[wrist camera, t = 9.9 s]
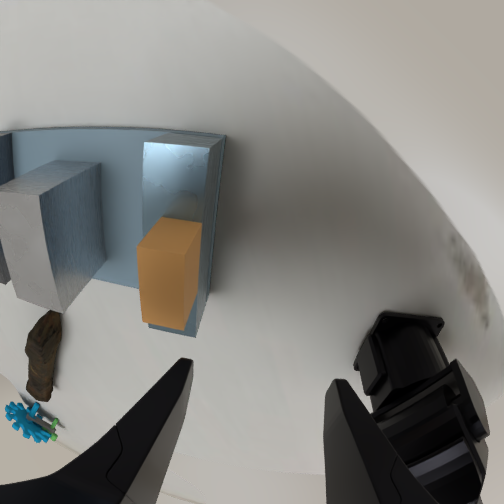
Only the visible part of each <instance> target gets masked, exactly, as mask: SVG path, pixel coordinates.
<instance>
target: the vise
mask: <svg viewBox="0 0 504 504" xmlns="http://www.w3.org/2000/svg"><path fill="white" fill-rule="evenodd" d="M166 133H176V134H187V135H197V136H207V137H215V138H222V142H221V150H220V159H219V167H218V176H217V185H216V194H215V204H214V213H213V223H212V234H211V245H210V256H209V268H208V281H207V294H206V302H207V299H208V296H209V291H210V279H211V267H212V256H213V245H214V235H215V225H216V215H217V206H218V197H219V188H220V179H221V171H222V162H223V154H224V146H225V138H226V135H219V134H211V133H202V132H191V131H180V130H167V129H152V128H131V127H58V128H39V129H25V130H13V131H3V132H0V186H1V185H3V184H5V183H7V182H9V181H11V180H13V179H15V178H17V177H19V176H21V175H23V174H25V173H27V172H29V171H31V170H33V169H35V168H38V167H40V166H42V165H44V164H46V163H49V162H51V161H53V160H61V161H84V162H101V194H102V212H103V226H104V238H105V248H106V257H107V261H106V262H105V263H104V264H103V266H102V267H101V268H100V269H99V270H98V271H97V273H96V274H95V275H94V276H93V277H92V278H93V279H97V280H102V281H106V282H110V283H115V284H119V285H124V286H128V287H133V288H137V289H139V279H138V264H137V245H138V244H139V243H140V242H141V240H142V239H143V226H142V184H143V153H144V142H146V141H148V140H151V139H153V138H156V137H158V136H161V135H163V134H166ZM10 280H11V277H10V273H9V270H8V266H7V263H6V259H5V256H4V252H3V248H2V244H1V239H0V283H3V284H5V285H6V284H7V283H8V282H9V281H10Z"/></svg>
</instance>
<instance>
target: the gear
mask: <svg viewBox="0 0 504 504" xmlns="http://www.w3.org/2000/svg"><path fill="white" fill-rule="evenodd" d="M39 406H40V405H39V404H38V403H37V402H35V404H34V405H33V407H32V409H31V408H30V407H27V409H26V410H25V408H24V406H23V404H22V403H17V405H15V404H14V402H10V405H9V406H8V405H6V407H5V411H6V412H7V414H6V418H7V419H8V420H9V421H11V420H12V419H15V420H16V422H14V423H13V425H12V427H13V428H14V429H15V430H17V431H18V430H19V428H20V427H21V428H22V429H23V436H24V437H25V438H28V439H29V438H30V436H31V435H32V437H33V438H34V441H36V443H40V442H41V440H43V441H44V442H47V441H48V439H49V438H50V437H51V440H52V441H55V440H56V439H57V437H58V436H57V434H55V431H56V429H55V426H56V424H57V422H58V419H57V418H55V419H54V421H53V423H52V425H50V424H49V423H47V422H45V421H43V420H42V418H43V417H41V416H40V415H39V414H37V416H35V414H36V412H37V410H38V408H39ZM10 413H13V414H10ZM30 434H31V435H30Z"/></svg>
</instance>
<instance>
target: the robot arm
mask: <svg viewBox="0 0 504 504" xmlns="http://www.w3.org/2000/svg"><path fill="white" fill-rule="evenodd" d="M385 318H386V319H385ZM383 319H385V320H383ZM443 326H444V321H443V319H442V318H437V317H426V316H416V315H406V314H397V313H388V312H384V313H382V314H380V315H379V317H378V319H377V321H376V323H375V325H374V327H373V329H372V330H371V332H370V334H369V335H368V336H367V338H366V340H365V342H364V344H363V345H362V347H361V349H360V351H359V353H358V355H357V359H356V360H355V362H354V364H353V366H354V370H356V371H360V375H361V380H362V385H363V390H364V393H365V395H366V396H370V399H371V404H372V409H373V413H371V414H370V413H369V412H368V410H367V409H366V407H365V406H364V404H363V403H362V401H361V400H360V399H359V397H358V396H357V394H356V393H355V391H354V390H353V389H352V387H351V386H350V384H349V383H348V381H347V380H345V379H334V380H333V381H332V383H331V385H330V387H329V388H328V390H327V392H326V395H325V411H324V431H323V441H324V457H325V476H326V500H327V502H326V503H327V504H483V503H482V500H481V497H480V493H481V490H482V486H483V482H484V479H485V475H486V468H487V460H488V447H487V444H486V442H485V439H484V438H486V437H487V436H489V435H490V430H489V425H488V420H487V415H486V411H485V406H484V402H483V399H482V397H481V395H480V393H479V391H478V389H477V387H476V385H475V383H474V381H473V379H472V378H471V376H470V375H469V374H468V372H467V371H466V370H465V369H464V367H463V366H462V365H461V364H460V362H459V361H458V360H457V359H455V360H453V361H452V362H450V365H449V362H448V360H447V358H446V356H445V354H444V352H443V349H442V347H441V345H440V343H439V341H438V339H437V336H438V334H439V333H440V331H441V330H442V328H443ZM192 381H193V360H191V359H187V358H180V359H179V360H178V361H177V362H176V363H175V364H174V365H173V366H172V367H171V368H170V369H169V370H168V371H167V372H166V373H165V374H164V375H163V376H162V377H161V378H160V379H159V380H158V382H157V383H156V384H155V385H154V386H153V387H152V388H151V389H150V390H149V391H148V392H147V393H146V394H145V395H144V396H143V397H142V398H141V399H140V400H139V401H138V402H137V403H136V404H135V405H134V406H133V407H132V408H131V409H130V410H129V411H128V412H127V413H126V414H125V415H124V416H123V417H122V418H121V419H120V420H119V421H118V422H117V423H116V425H114V426H113V427H112V428H111V429H110V430H109V431H108V432H107V433H106V434H105V435H104V436H103V437H102V438H101V439H99V440H98V441H97V442H96V443H95V444H94V445H92V446H91V447H90V448H89V449H87V450H86V451H85V452H83V453H82V454H81V455H79V456H78V457H77V458H75V459H74V460H72V461H71V462H70V463H68V464H67V465H65V466H64V467H63V468H61V469H60V470H58V471H56V472H55V473H53V474H50V475H48V476H45V477H41V478H37V479H32V480H27V481H22V482H17V483H12V484H5V485H0V504H155V503H156V501H157V498H158V495H159V492H160V489H161V486H162V483H163V480H164V477H165V475H166V472H167V469H168V466H169V463H170V460H171V457H172V454H173V451H174V448H175V445H176V443H177V440H178V437H179V434H180V431H181V428H182V425H183V422H184V419H185V415H186V410H187V405H188V400H189V395H190V390H191V386H192Z"/></svg>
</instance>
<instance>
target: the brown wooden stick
mask: <svg viewBox="0 0 504 504" xmlns="http://www.w3.org/2000/svg"><path fill="white" fill-rule="evenodd" d="M60 340H61V321H60V315H59V312H56V311H53V310H49V311H48V312H47V313H46V314H45V315H44V316H42V317H41V318H40V319H39V320H38V322H37V323H36V324H35V326H34V327H33V329H32V330H31V331H30V332H29V334H28V338H27V344H26V347H25V353H26V354H27V356H28V357H29V365H28V370H29V371H28V378H29V379H28V381H27V385H26V390H27V392H28V393H30V395H31V396H33V397H34V398H35V399H36V400H38V401H42V402H43V401H44V402H48V401H49V400H50V398H51V393H52V391H53V386H52V385H53V381H52V379H53V378H52V375H53V371H54V362H55V356H56V351H57V347H58V344H59V342H60Z"/></svg>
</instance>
